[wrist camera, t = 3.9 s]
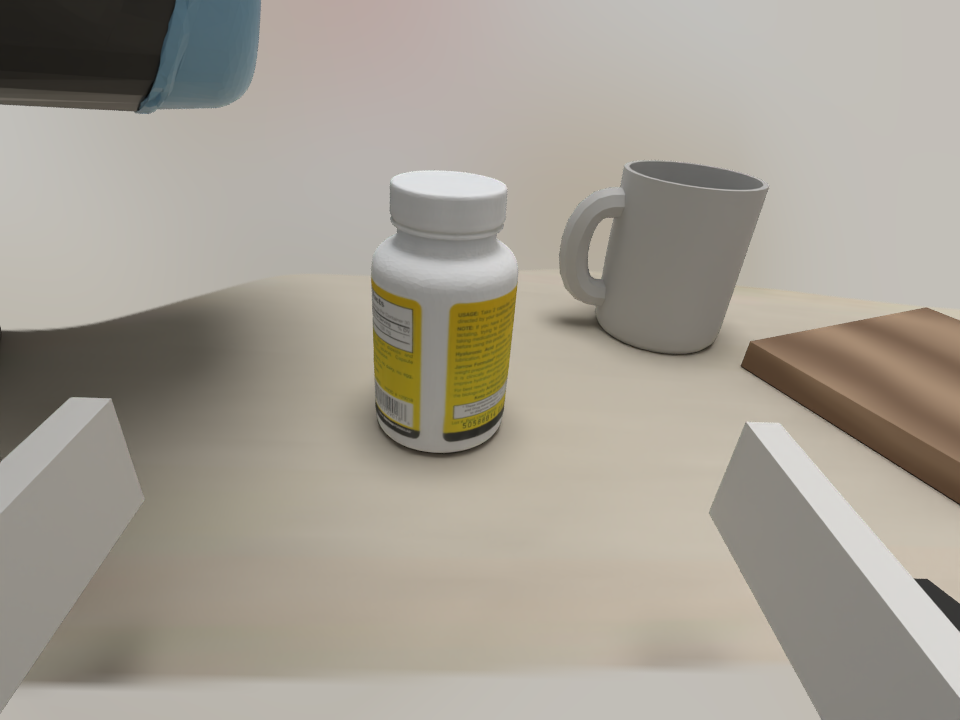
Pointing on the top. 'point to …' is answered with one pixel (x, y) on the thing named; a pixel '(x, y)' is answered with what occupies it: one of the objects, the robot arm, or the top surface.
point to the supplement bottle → (443, 311)
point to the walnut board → (879, 386)
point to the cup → (664, 252)
